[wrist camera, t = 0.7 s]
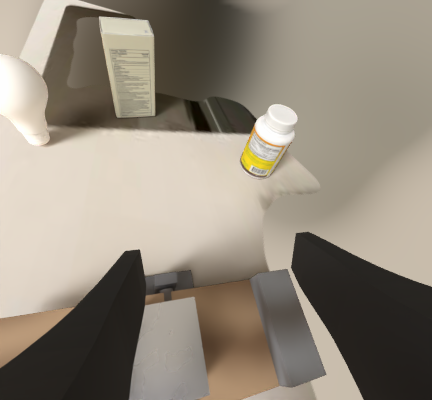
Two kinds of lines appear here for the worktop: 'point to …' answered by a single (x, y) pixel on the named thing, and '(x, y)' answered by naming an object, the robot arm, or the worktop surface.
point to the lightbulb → (23, 98)
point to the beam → (221, 334)
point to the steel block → (169, 354)
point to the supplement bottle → (268, 141)
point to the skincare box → (130, 65)
